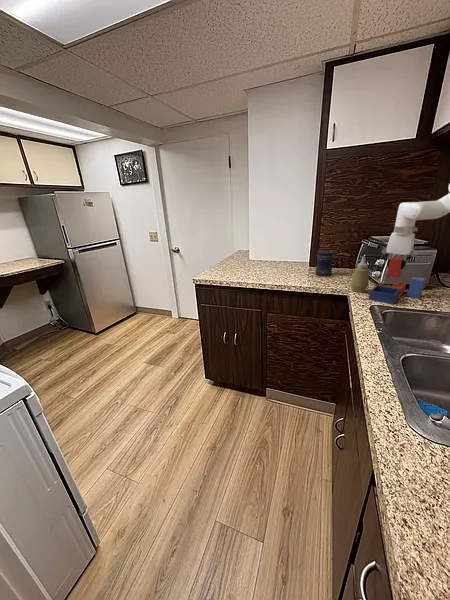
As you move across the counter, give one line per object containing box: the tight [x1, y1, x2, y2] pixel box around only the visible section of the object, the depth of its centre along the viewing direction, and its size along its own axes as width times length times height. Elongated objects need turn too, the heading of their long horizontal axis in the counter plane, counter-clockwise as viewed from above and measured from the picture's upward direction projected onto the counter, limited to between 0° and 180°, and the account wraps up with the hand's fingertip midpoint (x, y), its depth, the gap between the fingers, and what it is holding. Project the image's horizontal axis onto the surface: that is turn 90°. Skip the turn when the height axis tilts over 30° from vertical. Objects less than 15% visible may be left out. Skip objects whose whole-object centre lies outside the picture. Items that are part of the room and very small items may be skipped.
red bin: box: [377, 281, 407, 298], centre depth 127 cm, size 10×10×4 cm
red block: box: [386, 256, 403, 279], centre depth 123 cm, size 5×5×9 cm
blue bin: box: [368, 284, 400, 305], centre depth 119 cm, size 10×10×4 cm
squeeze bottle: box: [350, 256, 370, 293], centre depth 128 cm, size 8×8×18 cm
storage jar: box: [315, 249, 335, 277], centre depth 160 cm, size 10×10×15 cm
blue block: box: [406, 276, 426, 299], centre depth 119 cm, size 5×5×9 cm
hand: (395, 267), depth 123 cm, fingers closed on red block, 4 cm apart
